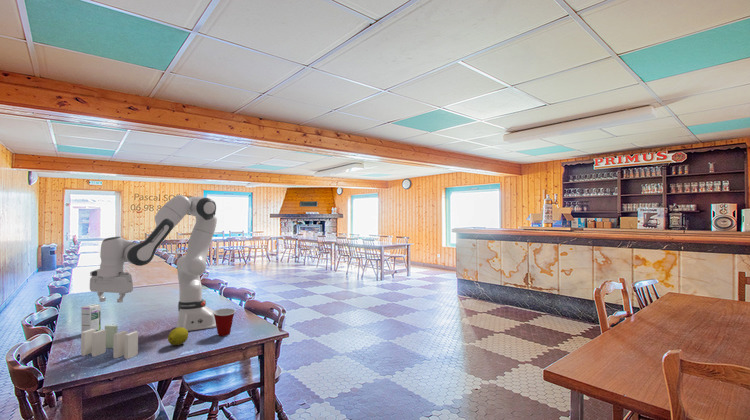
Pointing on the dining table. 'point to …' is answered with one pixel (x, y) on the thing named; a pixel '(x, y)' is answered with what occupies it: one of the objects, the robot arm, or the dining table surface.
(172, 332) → the lemon
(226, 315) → the plastic cup
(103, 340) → the domino
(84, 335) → the domino
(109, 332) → the domino
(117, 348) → the domino
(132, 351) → the domino
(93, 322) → the syrup box
